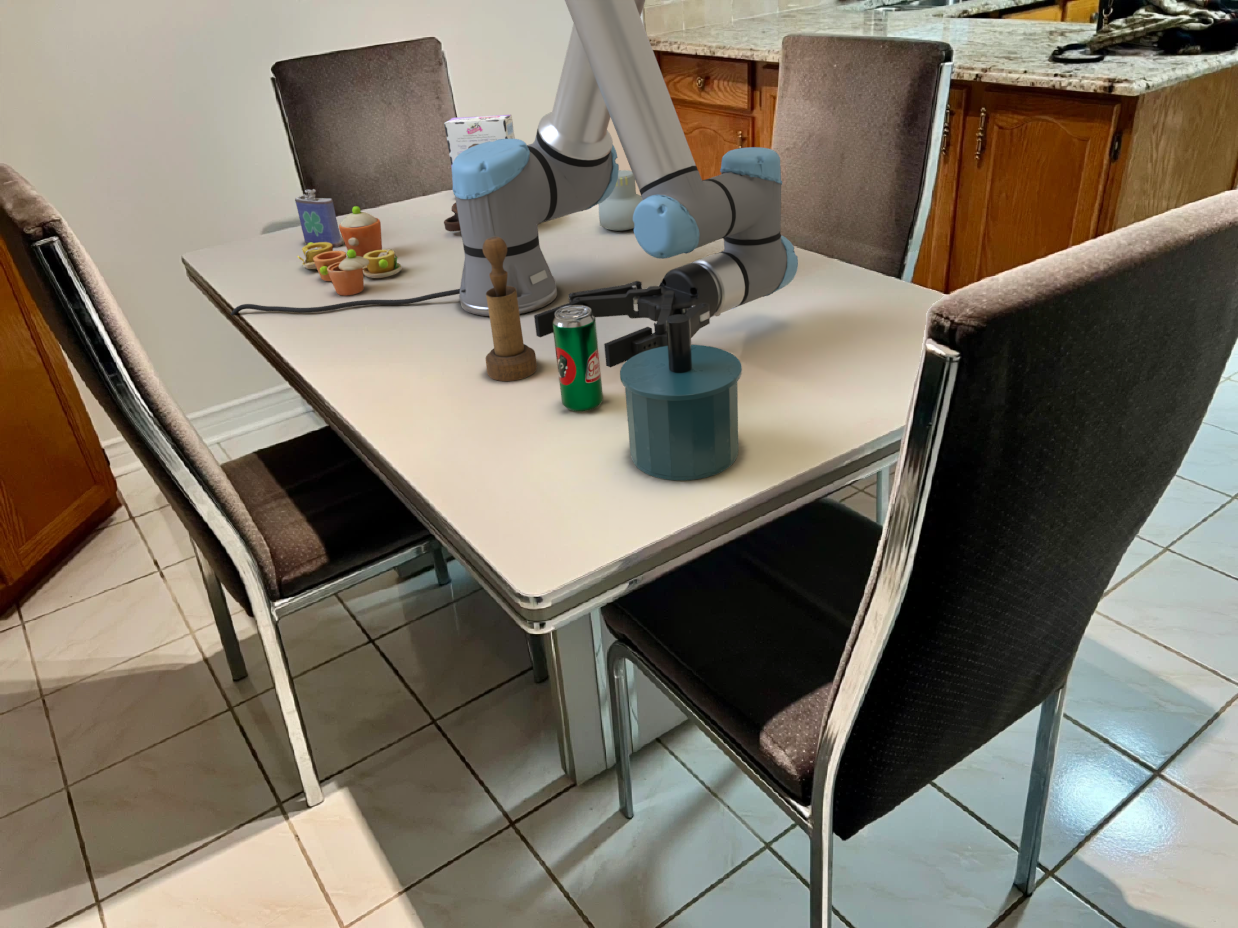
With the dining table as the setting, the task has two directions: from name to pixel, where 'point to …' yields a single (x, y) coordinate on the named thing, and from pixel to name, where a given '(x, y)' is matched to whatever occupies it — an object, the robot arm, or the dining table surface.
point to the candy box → (476, 132)
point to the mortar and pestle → (505, 322)
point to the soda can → (577, 358)
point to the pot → (683, 435)
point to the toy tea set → (353, 255)
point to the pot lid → (680, 367)
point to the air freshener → (620, 204)
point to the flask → (318, 219)
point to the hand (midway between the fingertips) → (570, 340)
